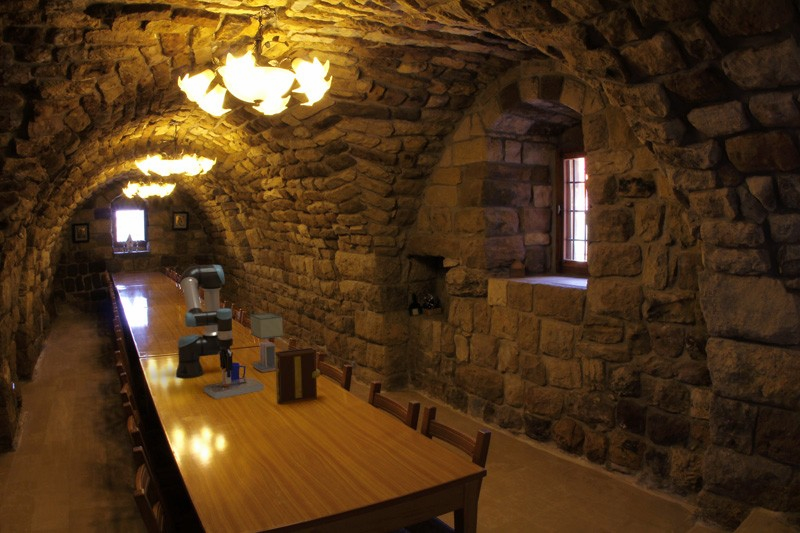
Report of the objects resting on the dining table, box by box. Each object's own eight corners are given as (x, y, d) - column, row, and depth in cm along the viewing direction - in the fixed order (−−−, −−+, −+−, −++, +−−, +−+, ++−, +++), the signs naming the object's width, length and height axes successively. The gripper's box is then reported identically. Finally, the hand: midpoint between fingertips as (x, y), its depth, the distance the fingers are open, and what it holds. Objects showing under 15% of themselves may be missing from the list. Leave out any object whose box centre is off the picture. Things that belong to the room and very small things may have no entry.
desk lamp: (251, 367, 366) (249, 314, 364) (273, 364, 374) (272, 312, 371) (261, 373, 351) (259, 318, 348) (284, 370, 358) (282, 316, 356)
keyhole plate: (215, 399, 300) (215, 392, 300) (203, 392, 314) (203, 385, 313) (263, 389, 316) (263, 383, 316) (250, 383, 329) (250, 377, 329)
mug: (242, 384, 328) (241, 366, 327) (222, 383, 330) (221, 365, 330) (249, 380, 336) (248, 362, 335) (229, 379, 338) (228, 362, 338)
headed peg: (220, 391, 313) (219, 368, 312) (229, 390, 316) (229, 367, 315) (224, 393, 309) (223, 370, 308) (233, 392, 312) (232, 368, 311)
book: (280, 405, 288) (278, 354, 286) (275, 401, 296) (273, 351, 294) (323, 398, 298) (321, 349, 297) (317, 394, 306) (316, 346, 304)
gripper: (212, 337, 315) (214, 380, 316) (224, 341, 302) (225, 387, 303) (226, 335, 319) (227, 378, 321) (238, 339, 306) (239, 384, 308)
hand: (226, 382), depth 312 cm, fingers closed on headed peg, 3 cm apart
